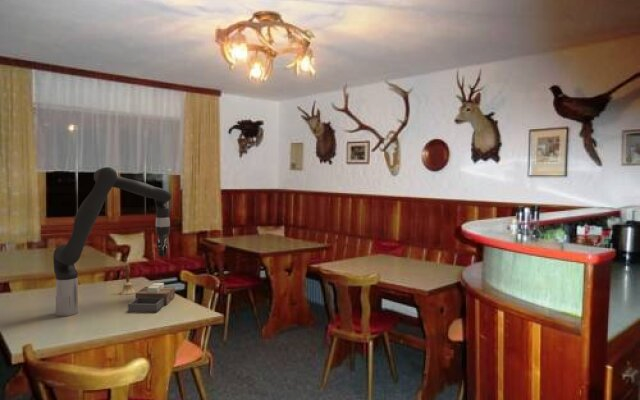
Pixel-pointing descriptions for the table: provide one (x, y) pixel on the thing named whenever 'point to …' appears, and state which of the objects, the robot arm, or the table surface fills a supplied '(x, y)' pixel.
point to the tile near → (153, 289)
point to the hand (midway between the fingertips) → (162, 255)
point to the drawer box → (158, 294)
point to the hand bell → (127, 284)
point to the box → (146, 305)
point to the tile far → (159, 285)
